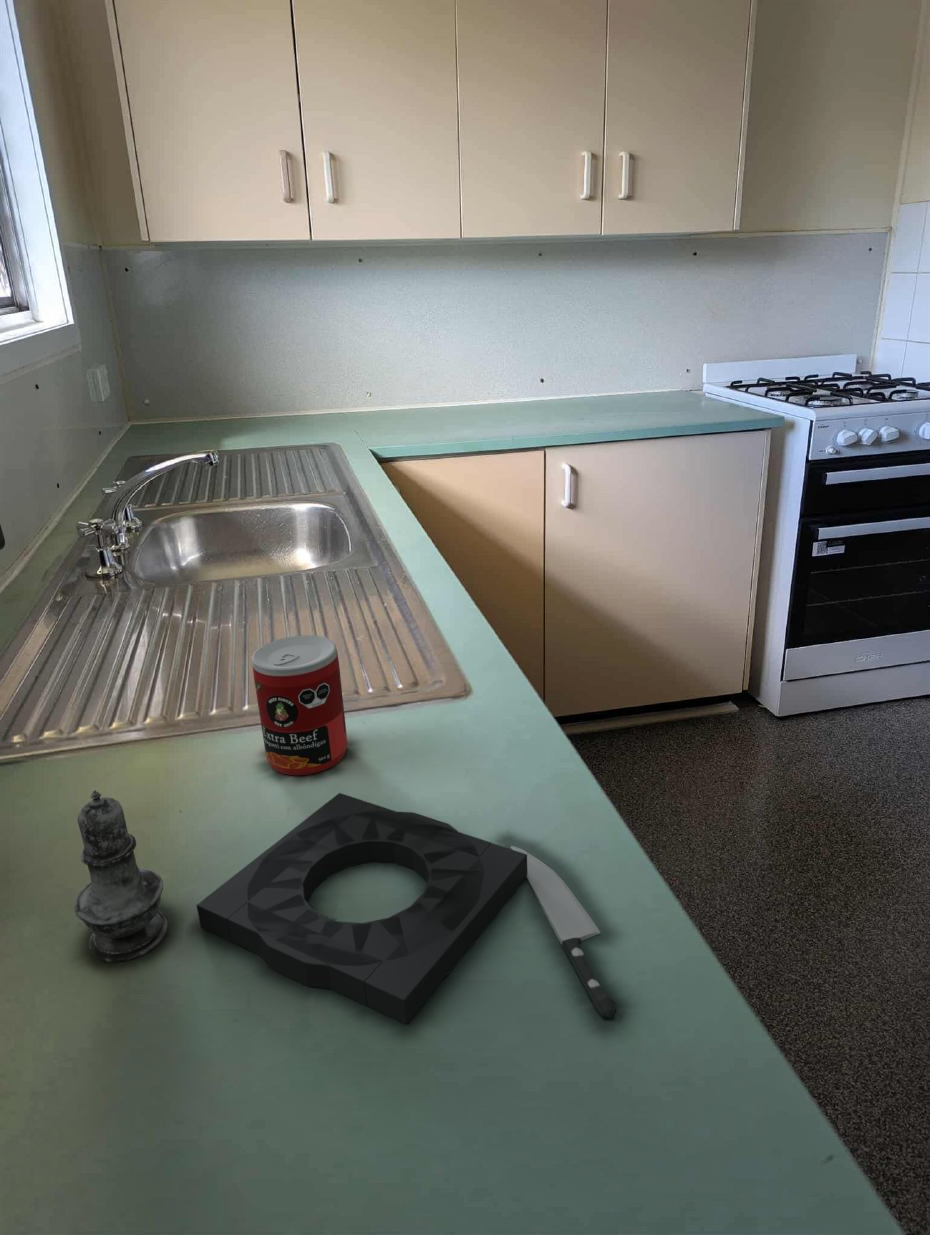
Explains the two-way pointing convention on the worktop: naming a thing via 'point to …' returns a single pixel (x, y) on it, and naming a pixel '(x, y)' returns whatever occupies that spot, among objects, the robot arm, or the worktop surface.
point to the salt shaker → (116, 886)
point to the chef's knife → (567, 925)
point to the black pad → (377, 950)
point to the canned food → (300, 703)
